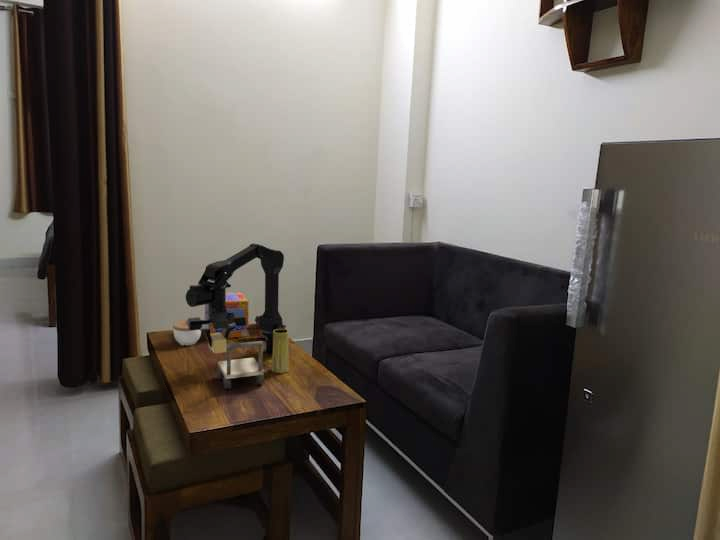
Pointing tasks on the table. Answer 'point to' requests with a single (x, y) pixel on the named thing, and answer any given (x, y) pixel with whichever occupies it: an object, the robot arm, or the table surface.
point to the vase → (280, 351)
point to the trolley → (241, 365)
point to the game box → (238, 306)
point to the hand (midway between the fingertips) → (217, 346)
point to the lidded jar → (185, 333)
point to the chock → (218, 343)
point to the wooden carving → (256, 329)
